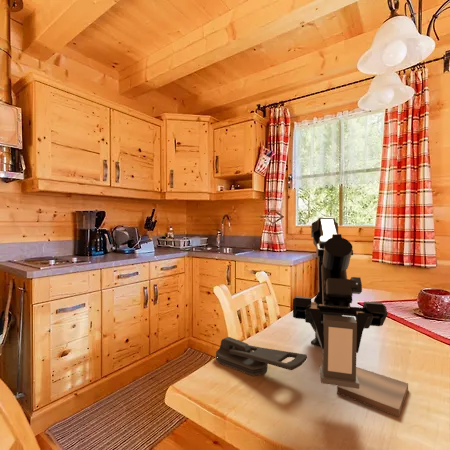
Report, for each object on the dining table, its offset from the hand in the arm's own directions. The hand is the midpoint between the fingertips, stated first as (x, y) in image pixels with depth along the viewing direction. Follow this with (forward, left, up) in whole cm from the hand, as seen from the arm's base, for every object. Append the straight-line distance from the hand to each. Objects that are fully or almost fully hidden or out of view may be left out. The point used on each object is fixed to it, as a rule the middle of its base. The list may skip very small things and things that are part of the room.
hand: (339, 350), depth 57 cm
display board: (-13, +3, -13) cm, 19 cm away
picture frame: (-1, -1, -7) cm, 7 cm away
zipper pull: (-4, -22, -13) cm, 26 cm away
